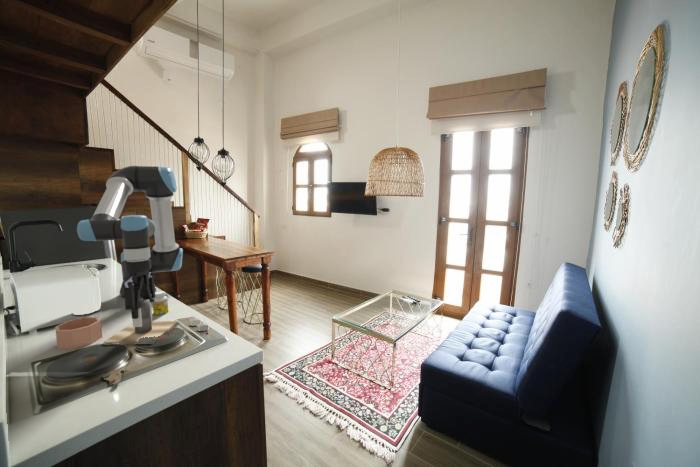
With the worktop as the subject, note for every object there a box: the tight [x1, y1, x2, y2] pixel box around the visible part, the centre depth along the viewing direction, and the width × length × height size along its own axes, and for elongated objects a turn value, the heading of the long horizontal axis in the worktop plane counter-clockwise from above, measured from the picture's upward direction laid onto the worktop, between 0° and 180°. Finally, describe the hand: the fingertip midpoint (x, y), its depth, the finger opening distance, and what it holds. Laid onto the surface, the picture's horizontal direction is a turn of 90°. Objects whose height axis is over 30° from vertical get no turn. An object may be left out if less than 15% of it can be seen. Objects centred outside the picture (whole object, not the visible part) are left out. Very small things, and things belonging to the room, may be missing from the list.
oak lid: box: [102, 298, 179, 344], centre depth 106 cm, size 16×16×12 cm
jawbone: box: [103, 364, 129, 387], centre depth 88 cm, size 9×20×2 cm, turn 168°
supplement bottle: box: [152, 290, 169, 316], centre depth 125 cm, size 5×5×10 cm
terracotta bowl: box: [54, 316, 103, 350], centre depth 101 cm, size 11×11×7 cm
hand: (143, 322), depth 106 cm, fingers closed on oak lid, 5 cm apart
